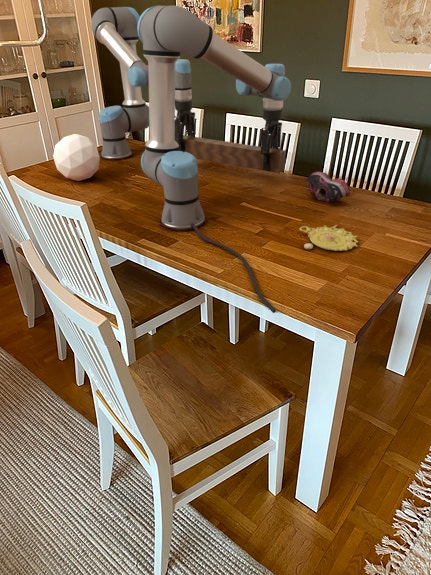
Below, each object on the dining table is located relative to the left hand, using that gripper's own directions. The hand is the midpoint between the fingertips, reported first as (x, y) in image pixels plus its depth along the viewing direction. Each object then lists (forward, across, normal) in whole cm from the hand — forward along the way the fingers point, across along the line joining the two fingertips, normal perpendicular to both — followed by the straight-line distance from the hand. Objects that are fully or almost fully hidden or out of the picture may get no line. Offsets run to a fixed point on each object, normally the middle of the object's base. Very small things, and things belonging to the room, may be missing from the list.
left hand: (186, 153), depth 203 cm
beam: (0, 0, -22) cm, 22 cm away
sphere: (+7, -35, +34) cm, 49 cm away
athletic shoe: (+6, -4, -68) cm, 69 cm away
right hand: (0, 0, -43) cm, 43 cm away
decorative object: (+6, -37, -84) cm, 92 cm away
